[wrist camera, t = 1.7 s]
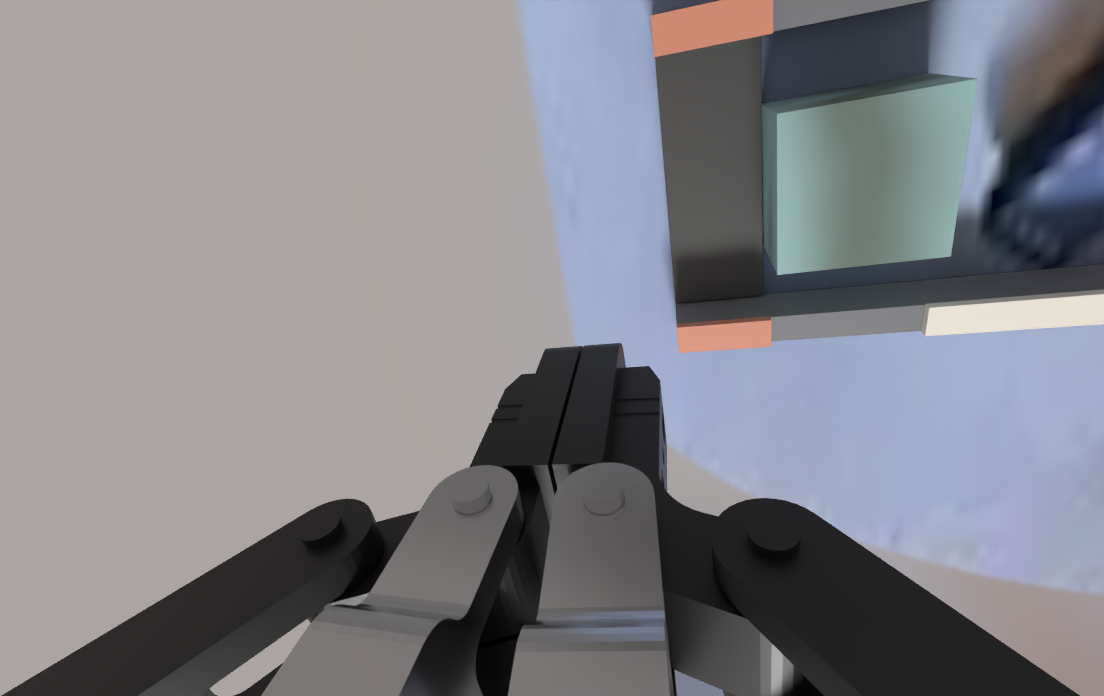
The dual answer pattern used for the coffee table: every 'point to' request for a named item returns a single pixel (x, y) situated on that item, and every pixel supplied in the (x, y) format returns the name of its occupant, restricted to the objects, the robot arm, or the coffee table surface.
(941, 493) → the coffee table surface
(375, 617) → the robot arm
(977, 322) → the open tray box
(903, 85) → the teal block
